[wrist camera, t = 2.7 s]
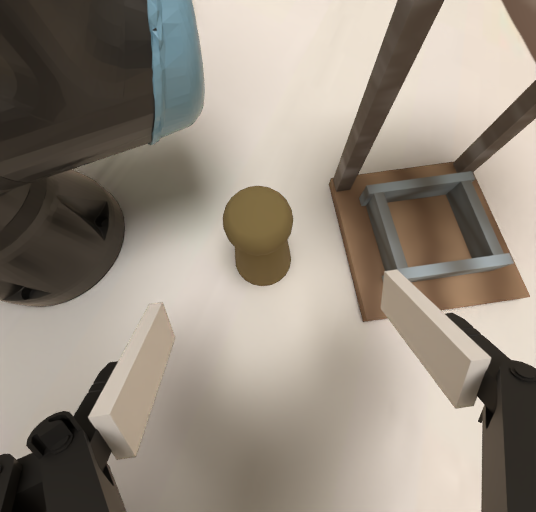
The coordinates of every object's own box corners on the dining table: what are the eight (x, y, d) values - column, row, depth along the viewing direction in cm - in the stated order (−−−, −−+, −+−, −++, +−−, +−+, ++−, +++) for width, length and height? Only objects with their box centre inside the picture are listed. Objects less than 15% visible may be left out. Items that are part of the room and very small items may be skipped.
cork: (258, 223, 30) (250, 158, 19) (302, 253, 28) (318, 202, 18) (223, 263, 28) (194, 216, 18) (267, 297, 27) (263, 269, 17)
